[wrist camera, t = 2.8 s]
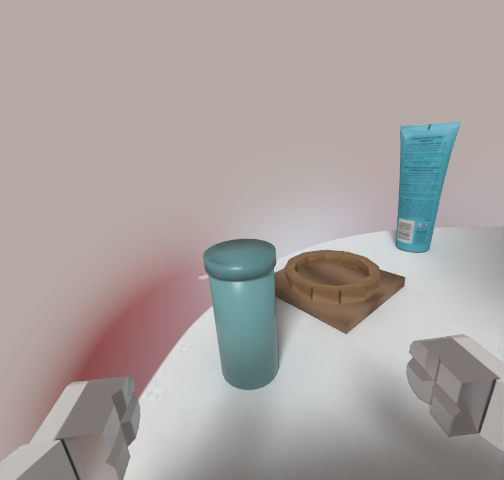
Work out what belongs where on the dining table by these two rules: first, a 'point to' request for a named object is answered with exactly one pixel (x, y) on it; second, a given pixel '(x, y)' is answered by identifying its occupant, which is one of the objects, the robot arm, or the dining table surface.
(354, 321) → the collar base
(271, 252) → the teal rimmed peg
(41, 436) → the robot arm
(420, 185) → the tube
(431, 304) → the dining table surface
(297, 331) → the dining table surface
